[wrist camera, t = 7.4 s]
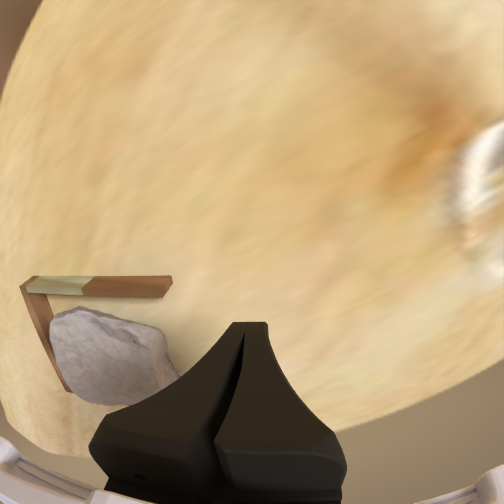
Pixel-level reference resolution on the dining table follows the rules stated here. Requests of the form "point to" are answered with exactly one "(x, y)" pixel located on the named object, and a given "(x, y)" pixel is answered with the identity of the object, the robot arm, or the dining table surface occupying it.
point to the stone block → (110, 357)
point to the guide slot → (82, 285)
